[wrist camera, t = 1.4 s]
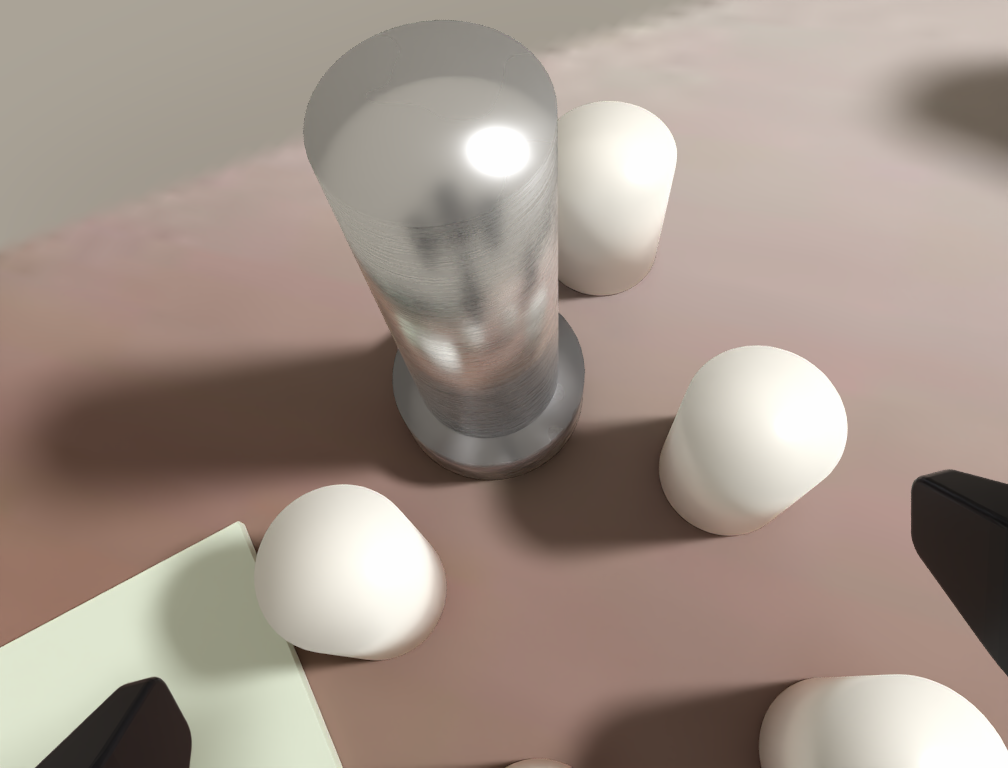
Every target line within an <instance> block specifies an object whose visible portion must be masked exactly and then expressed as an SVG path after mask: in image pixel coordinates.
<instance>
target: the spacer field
mask: <svg viewBox="0 0 1008 768" xmlns="http://www.w3.org/2000/svg"><path fill="white" fill-rule="evenodd" d="M676 161H677V150H676V144H675V141H674V138H673V136H672V134H671V132H670V131H669V129H668V128H667V126H666V125H665V124H664V123H663V122H662V121H661V120H660V119H659V118H658V117H656V116H655V115H654V114H652V113H651V112H649V111H647V110H645V109H643V108H641V107H639V106H636V105H633V104H629V103H625V102H617V101H601V102H594V103H589V104H586V105H582V106H580V107H577V108H575V109H573V110H571V111H569V112H567V113H566V114H565V115H563V116H562V117H560V118H559V119H558V280H559V281H561V282H562V283H563V284H564V285H566V286H567V287H569V288H571V289H573V290H575V291H578V292H580V293H584V294H588V295H597V296H604V295H613V294H617V293H620V292H624V291H626V290H628V289H630V288H632V287H634V286H635V285H637V284H638V283H639V282H640V281H642V280H643V279H644V277H645V276H646V275H647V274H648V273H649V271H650V270H651V268H652V266H653V264H654V261H655V257H656V253H657V248H658V244H659V239H660V235H661V230H662V226H663V221H664V217H665V212H666V208H667V203H668V199H669V194H670V190H671V185H672V181H673V176H674V172H675V167H676ZM846 439H847V418H846V413H845V409H844V406H843V403H842V401H841V398H840V396H839V394H838V392H837V391H836V389H835V387H834V386H833V385H832V383H831V382H830V380H829V379H828V378H827V377H826V376H825V375H824V374H823V373H822V372H821V371H820V370H819V369H818V368H817V367H815V366H814V365H813V364H811V363H810V362H809V361H807V360H806V359H804V358H802V357H800V356H798V355H796V354H794V353H791V352H789V351H786V350H783V349H779V348H775V347H769V346H744V347H739V348H734V349H731V350H728V351H725V352H723V353H721V354H719V355H717V356H716V357H714V358H712V359H711V360H709V361H708V362H707V363H706V364H705V365H704V366H702V367H701V369H700V370H699V371H698V372H697V373H696V375H695V376H694V378H693V379H692V381H691V383H690V385H689V387H688V389H687V391H686V394H685V396H684V398H683V401H682V403H681V405H680V408H679V410H678V412H677V415H676V417H675V419H674V422H673V424H672V426H671V429H670V431H669V434H668V436H667V438H666V441H665V443H664V445H663V448H662V451H661V454H660V459H659V477H660V482H661V486H662V489H663V491H664V494H665V496H666V498H667V499H668V501H669V503H670V504H671V506H672V507H673V508H674V510H675V511H676V512H677V513H678V514H679V515H680V516H681V517H682V518H684V519H685V520H686V521H687V522H689V523H690V524H692V525H693V526H695V527H697V528H699V529H701V530H703V531H706V532H709V533H713V534H717V535H726V536H735V535H742V534H747V533H750V532H753V531H756V530H758V529H760V528H762V527H763V526H765V525H766V524H768V523H769V522H770V521H772V520H773V519H774V518H775V517H777V516H778V515H779V514H781V513H782V512H783V511H784V510H786V509H787V508H788V507H789V506H791V505H792V504H793V503H794V502H796V501H797V500H798V499H800V498H801V497H802V496H803V495H805V494H806V493H807V492H808V491H810V490H811V489H812V488H813V487H815V486H816V485H817V484H818V483H820V482H821V481H822V480H823V479H825V478H826V477H827V476H828V475H829V474H830V473H831V472H832V470H833V469H834V468H835V466H836V465H837V463H838V462H839V460H840V458H841V456H842V454H843V451H844V448H845V444H846ZM254 586H255V592H256V597H257V600H258V603H259V607H260V609H261V611H262V613H263V615H264V617H265V619H266V620H267V622H268V623H269V625H270V626H271V627H272V628H273V629H274V630H275V631H276V633H277V634H279V635H280V636H281V637H282V638H284V639H285V640H286V641H288V642H290V643H291V644H293V645H295V646H297V647H299V648H302V649H304V650H308V651H312V652H317V653H324V654H331V655H338V656H345V657H352V658H359V659H366V660H375V661H376V660H388V659H393V658H396V657H399V656H402V655H404V654H406V653H408V652H410V651H412V650H413V649H415V648H416V647H418V646H419V645H420V644H421V643H422V642H423V641H424V640H425V639H426V638H427V637H428V636H429V635H430V634H431V632H432V631H433V630H434V628H435V627H436V625H437V623H438V621H439V619H440V617H441V615H442V612H443V609H444V605H445V601H446V593H447V582H446V575H445V571H444V567H443V564H442V562H441V559H440V557H439V556H438V554H437V552H436V550H435V549H434V548H433V547H432V545H431V544H430V543H429V542H428V541H427V540H426V539H425V537H424V536H423V535H422V534H421V533H420V532H419V531H418V530H417V529H416V528H415V526H414V525H413V524H412V523H411V522H410V521H409V520H408V519H407V518H406V516H405V515H404V514H403V513H402V512H401V511H400V510H399V509H398V508H397V507H396V506H395V505H394V504H393V503H392V502H391V501H390V500H388V499H387V498H386V497H384V496H383V495H381V494H379V493H377V492H375V491H373V490H371V489H368V488H365V487H361V486H356V485H345V484H343V485H331V486H326V487H322V488H319V489H316V490H313V491H311V492H309V493H306V494H304V495H303V496H301V497H299V498H298V499H296V500H294V501H293V502H292V503H291V504H289V505H288V506H287V507H286V508H285V509H284V510H283V511H282V512H281V513H280V514H279V515H278V516H277V517H276V518H275V520H274V521H273V522H272V523H271V525H270V527H269V528H268V530H267V531H266V533H265V535H264V537H263V539H262V541H261V544H260V547H259V550H258V553H257V557H256V562H255V570H254ZM759 757H760V763H761V768H1008V751H1007V749H1006V747H1005V745H1004V743H1003V741H1002V739H1001V738H1000V736H999V735H998V733H997V732H996V730H995V729H994V727H993V726H992V725H991V724H990V722H989V721H988V720H987V719H986V718H985V716H984V715H983V714H982V713H981V712H980V711H979V710H978V709H977V708H976V707H975V706H974V705H972V704H971V703H970V702H969V701H967V700H966V699H965V698H964V697H962V696H961V695H959V694H958V693H956V692H955V691H953V690H951V689H950V688H948V687H946V686H944V685H942V684H939V683H937V682H934V681H932V680H929V679H926V678H922V677H917V676H913V675H902V674H895V675H870V676H845V677H820V678H811V679H806V680H803V681H800V682H797V683H795V684H793V685H791V686H790V687H788V688H787V689H785V690H784V691H783V692H781V693H780V694H779V695H778V696H777V697H776V698H775V700H774V701H773V702H772V704H771V705H770V707H769V708H768V710H767V712H766V714H765V717H764V719H763V722H762V725H761V730H760V736H759ZM505 768H572V767H571V766H569V765H567V764H564V763H562V762H559V761H555V760H551V759H543V758H535V759H527V760H522V761H519V762H516V763H513V764H511V765H509V766H507V767H505Z"/></svg>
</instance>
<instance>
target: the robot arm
mask: <svg viewBox="0 0 1008 768" xmlns="http://www.w3.org/2000/svg"><path fill="white" fill-rule="evenodd" d="M911 536H912V541H913V544H914V547H915V549H916V551H917V553H918V555H919V556H920V558H921V559H922V561H923V562H924V564H925V565H926V566H927V568H928V569H929V570H930V572H931V573H932V575H933V576H934V577H935V579H936V580H937V582H938V583H939V584H940V586H941V587H942V589H943V590H944V591H945V593H946V594H947V596H948V597H949V598H950V600H951V601H952V603H953V604H954V605H955V607H956V608H957V610H958V611H959V612H960V614H961V615H962V616H963V618H964V619H965V621H966V622H967V623H968V625H969V626H970V628H971V629H972V630H973V632H974V633H975V635H976V636H977V637H978V639H979V640H980V642H981V643H982V644H983V646H984V647H985V648H986V650H987V651H988V652H989V654H990V655H991V656H992V658H993V659H994V660H995V661H996V663H997V664H998V665H999V666H1000V668H1001V669H1002V670H1003V671H1004V672H1005V674H1006V675H1007V676H1008V484H1005V483H1002V482H998V481H994V480H990V479H986V478H983V477H979V476H975V475H971V474H967V473H964V472H960V471H956V470H942V471H938V472H935V473H931V474H927V475H923V476H920V477H918V478H917V479H915V481H914V482H913V484H912V489H911ZM191 751H192V737H191V732H190V728H189V725H188V723H187V721H186V719H185V717H184V716H183V714H182V712H181V710H180V708H179V706H178V705H177V703H176V701H175V699H174V697H173V695H172V693H171V692H170V690H169V688H168V686H167V685H166V683H165V682H164V681H163V680H162V679H161V678H159V677H149V678H146V679H142V680H138V681H134V682H130V683H127V684H124V685H122V686H120V687H119V688H118V689H116V690H115V691H114V692H113V693H112V694H111V695H110V696H109V697H108V698H107V699H106V700H105V701H104V702H103V703H102V704H101V705H100V706H99V707H98V708H97V709H96V710H95V711H94V712H92V713H91V714H90V715H89V716H88V717H87V718H86V719H85V720H84V721H83V722H82V723H81V724H80V725H79V726H78V727H77V728H76V729H75V730H74V731H73V732H72V733H71V734H70V735H68V736H67V737H66V738H65V739H64V740H63V741H62V742H61V743H60V744H59V745H58V746H57V747H56V748H55V749H54V750H53V751H52V752H51V753H50V754H49V755H48V756H47V757H46V758H44V759H43V760H42V761H41V762H40V763H39V764H38V765H37V766H36V767H35V768H190V759H191Z"/></svg>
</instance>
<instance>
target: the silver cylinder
mask: <svg viewBox="0 0 1008 768" xmlns="http://www.w3.org/2000/svg"><path fill="white" fill-rule="evenodd" d="M303 134H304V145H305V149H306V153H307V157H308V159H309V162H310V164H311V166H312V168H313V170H314V173H315V175H316V177H317V179H318V181H319V183H320V185H321V187H322V189H323V191H324V194H325V196H326V198H327V200H328V202H329V204H330V206H331V208H332V210H333V212H334V215H335V217H336V219H337V221H338V223H339V225H340V227H341V229H342V231H343V233H344V235H345V238H346V240H347V242H348V244H349V246H350V248H351V250H352V252H353V254H354V256H355V259H356V261H357V263H358V265H359V267H360V269H361V271H362V273H363V275H364V277H365V280H366V282H367V284H368V286H369V288H370V290H371V292H372V294H373V296H374V298H375V301H376V303H377V305H378V307H379V309H380V311H381V313H382V315H383V317H384V319H385V322H386V324H387V326H388V328H389V330H390V332H391V334H392V336H393V338H394V340H395V342H396V345H397V347H398V351H397V354H396V357H395V361H394V367H393V391H394V396H395V400H396V404H397V407H398V409H399V411H400V414H401V416H402V418H403V420H404V421H405V423H406V425H407V426H408V428H409V430H410V432H411V433H412V435H413V437H414V438H415V440H416V441H417V443H418V445H419V446H420V447H421V448H422V449H423V451H424V452H425V453H426V454H427V455H428V456H429V457H430V458H431V459H433V460H434V461H435V462H436V463H438V464H439V465H441V466H442V467H444V468H446V469H448V470H450V471H452V472H454V473H456V474H459V475H462V476H465V477H470V478H475V479H483V480H498V479H506V478H511V477H516V476H519V475H522V474H525V473H527V472H530V471H532V470H534V469H536V468H538V467H539V466H541V465H542V464H544V463H546V462H547V461H548V460H550V459H551V458H552V457H553V456H554V455H555V454H557V453H558V451H559V450H560V449H561V448H562V447H563V446H564V445H565V443H566V442H567V441H568V439H569V438H570V436H571V435H572V433H573V431H574V429H575V427H576V425H577V422H578V419H579V416H580V413H581V408H582V401H583V389H584V373H585V369H584V359H583V354H582V350H581V347H580V344H579V342H578V339H577V337H576V335H575V333H574V331H573V330H572V328H571V326H570V325H569V324H568V322H567V321H566V320H565V319H564V317H563V316H562V315H561V314H560V313H559V312H558V114H557V100H556V95H555V91H554V87H553V84H552V82H551V79H550V77H549V75H548V73H547V71H546V70H545V68H544V67H543V65H542V64H541V62H540V61H539V60H538V59H537V58H536V57H535V56H534V54H533V53H532V52H531V51H529V50H528V49H527V48H526V47H525V46H523V45H522V44H521V43H520V42H518V41H516V40H515V39H513V38H511V37H510V36H508V35H506V34H504V33H502V32H500V31H498V30H495V29H492V28H489V27H486V26H483V25H479V24H474V23H470V22H463V21H454V20H434V21H422V22H416V23H411V24H406V25H402V26H399V27H395V28H392V29H389V30H386V31H384V32H381V33H379V34H376V35H375V36H372V37H370V38H369V39H367V40H365V41H363V42H361V43H360V44H358V45H357V46H355V47H353V48H352V49H350V50H349V51H348V52H347V53H345V54H344V55H343V56H342V57H341V58H339V59H338V60H337V61H336V62H335V63H334V64H333V65H332V66H331V67H330V68H329V69H328V71H327V72H326V73H325V75H324V76H323V77H322V78H321V80H320V81H319V83H318V85H317V86H316V88H315V90H314V92H313V93H312V96H311V98H310V101H309V103H308V106H307V110H306V114H305V118H304V130H303Z"/></svg>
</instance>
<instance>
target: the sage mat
mask: <svg viewBox="0 0 1008 768" xmlns="http://www.w3.org/2000/svg"><path fill="white" fill-rule="evenodd" d="M256 557H257V554H256V551H255V549H254V547H253V544H252V542H251V539H250V537H249V534H248V532H247V529H246V527H245V524H243V523H241V522H239V521H238V522H236V523H234V524H232V525H230V526H228V527H226V528H224V529H223V530H221V531H219V532H217V533H215V534H213V535H211V536H209V537H208V538H206V539H204V540H202V541H200V542H198V543H196V544H194V545H192V546H191V547H189V548H187V549H185V550H183V551H181V552H179V553H177V554H176V555H174V556H172V557H170V558H168V559H166V560H164V561H162V562H161V563H159V564H157V565H155V566H153V567H151V568H149V569H147V570H145V571H144V572H142V573H140V574H138V575H136V576H134V577H132V578H130V579H129V580H127V581H125V582H123V583H121V584H119V585H117V586H115V587H114V588H112V589H110V590H108V591H106V592H104V593H102V594H100V595H98V596H97V597H95V598H93V599H91V600H89V601H87V602H85V603H83V604H82V605H80V606H78V607H76V608H74V609H72V610H70V611H68V612H67V613H65V614H63V615H61V616H59V617H57V618H55V619H53V620H51V621H50V622H48V623H46V624H44V625H42V626H40V627H38V628H36V629H35V630H33V631H31V632H29V633H27V634H25V635H23V636H21V637H20V638H18V639H16V640H14V641H12V642H10V643H8V644H6V645H4V646H3V647H1V648H0V768H35V767H36V766H37V765H38V764H39V763H40V762H41V761H42V760H43V759H44V758H46V757H47V756H48V755H49V754H50V753H51V752H52V751H53V750H54V749H55V748H56V747H57V746H58V745H59V744H60V743H61V742H62V741H63V740H64V739H65V738H66V737H67V736H68V735H70V734H71V733H72V732H73V731H74V730H75V729H76V728H77V727H78V726H79V725H80V724H81V723H82V722H83V721H84V720H85V719H86V718H87V717H88V716H89V715H90V714H91V713H92V712H94V711H95V710H96V709H97V708H98V707H99V706H100V705H101V704H102V703H103V702H104V701H105V700H106V699H107V698H108V697H109V696H110V695H111V694H112V693H113V692H114V691H115V690H116V689H118V688H119V687H120V686H122V685H124V684H127V683H130V682H134V681H138V680H142V679H146V678H149V677H159V678H161V679H162V680H163V681H164V682H165V683H166V685H167V686H168V688H169V690H170V692H171V693H172V695H173V697H174V699H175V701H176V703H177V705H178V706H179V708H180V710H181V712H182V714H183V716H184V717H185V719H186V721H187V723H188V725H189V728H190V732H191V737H192V751H191V759H190V768H343V767H342V764H341V762H340V760H339V757H338V755H337V752H336V750H335V747H334V745H333V742H332V740H331V737H330V735H329V732H328V730H327V727H326V725H325V722H324V720H323V717H322V715H321V712H320V710H319V708H318V705H317V703H316V700H315V698H314V695H313V693H312V690H311V688H310V685H309V683H308V680H307V678H306V675H305V673H304V670H303V668H302V665H301V663H300V660H299V658H298V656H297V653H296V651H295V648H294V646H293V644H291V643H290V642H288V641H286V640H285V639H284V638H282V637H281V636H280V635H279V634H277V633H276V631H275V630H274V629H273V628H272V627H271V626H270V625H269V623H268V622H267V620H266V619H265V617H264V615H263V613H262V611H261V609H260V607H259V603H258V600H257V597H256V592H255V586H254V570H255V562H256Z"/></svg>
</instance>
